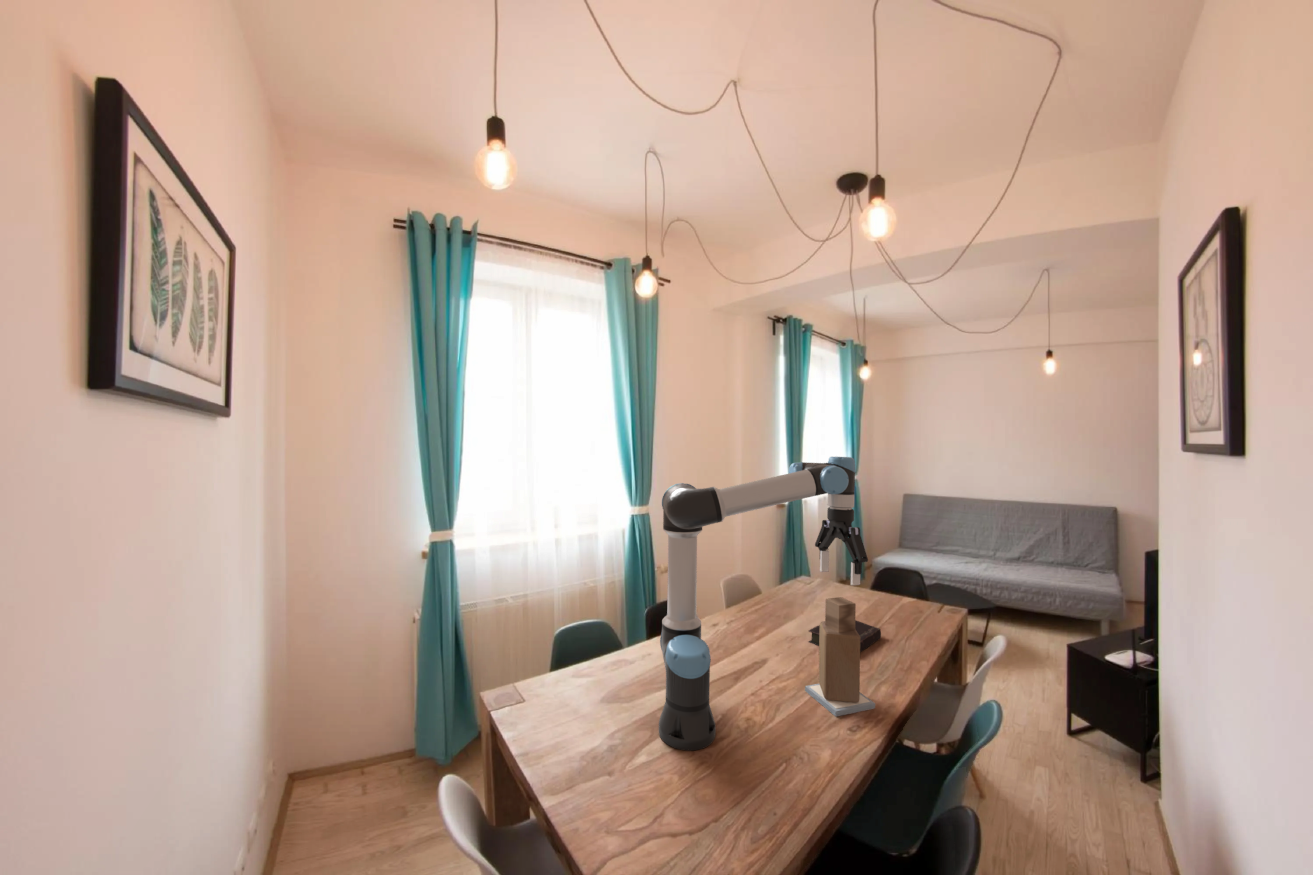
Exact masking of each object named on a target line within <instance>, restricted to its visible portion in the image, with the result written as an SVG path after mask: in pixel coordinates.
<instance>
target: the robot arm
mask: <svg viewBox="0 0 1313 875" xmlns="http://www.w3.org/2000/svg"><path fill="white" fill-rule="evenodd" d="M855 463H856V461H855V459H854V458H853V457H851V456H829V458H828V461H827V462H822V463H821V462H802V461H801V462H793V463H791V464H790V466H789V467H788V473H785V474H781V475H776V476H772V477H767V478H763V479H759V480H754V481H749V482H745V483H741V484H736V485H733V486H729V487H728V486H727V487H722V488H718V487H715V486H709V487H706V488H705V487H703V488H696V486H693V485H692V484H690V483H683V482H680V483H675V484H673V485H671V486H669V487H668V488H667V489H666V490H665V492H664V493H663V495H662V497H661V507H662V511H663V516H662V518H663V519H662V520H663V522H662V524H663V525H662V529H663V531H664V532H665V534H666V535H667V602H666V603H667V611H666V612H667V613H666V615H665V616H664V617H663V618H662V620H661V633H660V639H659V643H660V644H659V645H660V649H661V653H662V658H663V663H664V669H665V670H664V671H665V702H664V705H663V708H662V711H661V714H660V716H659V720H658V734H659V737H660V739H661V740H662V741H663V743H665V744H666V745H668V746H670V747H671V748H674V749H676V750H679V751H681V750H682V751H697V750H701V749H705V748H706V747H708V746H710V745H711V744H712V743H713V742H714V740H715V738H716V722H715V718H714V715H713V711H712V708H711V706H710V687H711V686H710V681H711V678H710V677H711V675H710V674H711V673H710V672H711V662H712V661H711V653H710V652H711V651H710V648H709V645H708V644H707V642H706V641H705V640H704V639H702V620H701V619H700V618H699V617H698V616H697V589H698V588H697V582H698V580H697V578H698V577H697V576H698V575H697V574H698V573H697V572H698V571H697V570H698V567H697V566H698V536H699V535H700V533H702V531H703V527H706V526H710V525H714V524H718V523H722V522H723V521H724V520H725V518H726V517H730V516H736V515H739V514H743V513H748V512H752V511H757V510H760V509H765V508H768V507H773V506H778V505H782V504H785V503H791V502H796V501H800V500H802V499H808V498H812V497H816V496H821V495H825V494H827V504H826V505H827V506H828V508H827V516H826V517H827V519H823V520H822V521H821V528H820V530H819V532H818V536H817V538H816V541H815V543H814V547H815V548H818V550H819V572H821V573H825V572H826V573H827V572H829V570H830V567H829V566H830V550H829V547H830V546H831V544H832V543H833V542H834V541H835V539H838V540H841V541H842V542H843V543H844V544H845V547H846V549H847V551H848V553H849V555H850V557H851V559H852V561H851V562H850V586H859V585H861V575H862V570H863V567H862V566H863V564H864V563H867V562H868V561H869V559H868V555H867V552H866V549H865V545H864V543H863V542H864V541H863V539H862V535H861V529H860V527H859V526H857V527H853V526H852V523H853V522H854V520H855V510H854V509H853V508H855V488H856V487H855V484H856V482H855V481H856V473H857V472H856V464H855Z"/></svg>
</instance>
